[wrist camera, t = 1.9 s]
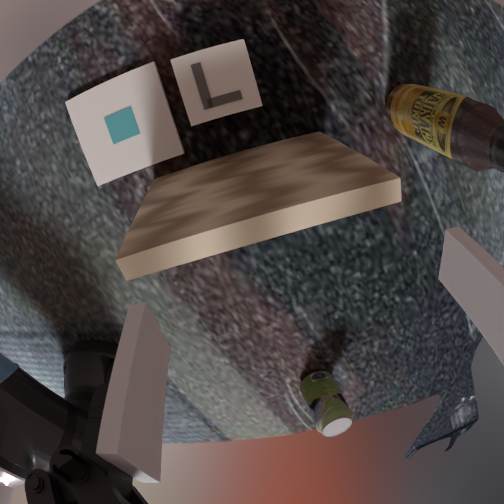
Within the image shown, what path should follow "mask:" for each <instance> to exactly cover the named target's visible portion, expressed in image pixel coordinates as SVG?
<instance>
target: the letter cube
mask: <svg viewBox="0 0 504 504" xmlns="http://www.w3.org/2000/svg"><path fill="white" fill-rule="evenodd" d="M170 61H171V64H172V67H173V70H174V74H175V77H176V80H177V83H178V86H179V89H180V93H181V96H182V99H183V102H184V105H185V108H186V111H187V115H188V118H189V121H190V124H191V126H194V125H197V124H200V123H203V122H207V121H210V120H213V119H217V118H220V117H223V116H227V115H230V114H234V113H238V112H241V111H245V110H249V109H253V108H257V107H261V106H262V102H261V98H260V95H259V91H258V87H257V84H256V80H255V76H254V73H253V69H252V66H251V62H250V59H249V55H248V52H247V48H246V45H245V41H244V39H241V40H237V41H233V42H229V43H225V44H221V45H217V46H213V47H210V48H206V49H203V50H199V51H196V52H193V53H189V54H186V55H183V56H180V57H177V58H174V59H171V60H170Z"/></svg>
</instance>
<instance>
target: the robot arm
mask: <svg viewBox="0 0 504 504" xmlns="http://www.w3.org/2000/svg"><path fill="white" fill-rule="evenodd" d="M438 279H439V280H440V281H441V282H442V284H443V285H444V286H445V287H446V288H447V290H448V291H449V292H450V293H451V295H452V296H453V297H454V298H455V300H456V301H457V302H458V303H459V305H460V306H461V307H462V308H463V310H464V311H465V312H466V314H467V315H468V316H469V318H470V319H471V320H472V322H473V323H474V324H475V326H476V327H477V328H478V330H479V331H480V332H481V334H482V335H483V336H484V338H485V339H486V341H487V342H488V343H489V345H490V346H491V348H492V349H493V350H494V352H495V353H496V355H497V356H498V358H499V359H500V361H501V362H502V364H503V365H504V268H503V267H502V266H501V265H500V264H499V263H498V262H497V261H496V260H495V259H494V258H493V257H492V256H491V255H490V254H488V253H487V252H486V251H485V250H484V249H483V248H482V247H481V246H480V245H479V244H478V243H476V242H475V241H474V240H473V239H472V238H471V237H470V236H469V235H467V234H466V233H465V232H464V231H463V230H462V229H461V228H459V227H458V226H457V227H454V228H450V229H446V230H445V239H444V246H443V253H442V260H441V266H440V272H439V278H438ZM169 352H170V345H169V343H168V341H167V340H166V338H165V336H164V334H163V333H162V331H161V329H160V327H159V326H158V324H157V322H156V320H155V318H154V317H153V315H152V313H151V311H150V309H149V307H148V306H147V304H146V302H144V303H139V304H134V305H130V306H129V309H128V312H127V316H126V319H125V323H124V327H123V330H122V334H121V338H120V341H119V345H115V344H112V343H108V342H103V341H83V342H80V343H77V344H75V345H73V346H72V347H71V348H70V349H69V351H68V352H67V355H66V358H65V361H64V366H63V370H64V375H65V376H64V389H65V398H62V397H60V396H59V395H57V394H56V393H54V392H53V391H51V390H50V389H48V388H47V387H45V386H44V385H43V384H41V383H40V382H38V381H37V380H36V379H34V378H33V377H32V376H30V375H29V374H28V373H26V372H25V371H24V370H22V369H21V368H20V367H19V365H18V364H17V363H13V362H12V361H11V360H9V359H8V358H6V357H5V356H4V355H2V354H1V353H0V504H10V501H11V497H12V494H13V490H14V487H16V486H17V485H20V484H24V483H25V492H26V497H27V502H28V504H148V503H147V502H146V501H145V499H144V498H143V497H142V495H141V494H140V493H139V492H138V490H137V489H136V488H135V487H134V486H133V485H132V480H133V478H134V479H136V480H138V481H139V482H147V483H160V473H161V451H162V434H163V419H164V405H165V393H166V382H167V372H168V362H169Z"/></svg>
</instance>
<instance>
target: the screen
mask: <svg viewBox="0 0 504 504" xmlns="http://www.w3.org/2000/svg"><path fill="white" fill-rule="evenodd" d="M400 201H401V183H400V178H399V177H398V176H396V175H395V174H393V173H392V172H390V171H388V170H387V169H385V168H383V167H382V166H380V165H379V164H377V163H375V162H374V161H372V160H370V159H368V158H367V157H365V156H363V155H362V154H360V153H358V152H356V151H355V150H353V149H351V148H349V147H348V146H346V145H344V144H342V143H340V142H338V141H337V140H335V139H333V138H331V137H329V136H327V135H325V134H323V133H321V132H320V131H319V132H315V133H310V134H306V135H302V136H298V137H293V138H289V139H285V140H281V141H277V142H273V143H270V144H266V145H262V146H258V147H255V148H251V149H247V150H244V151H240V152H237V153H233V154H230V155H227V156H223V157H220V158H217V159H213V160H210V161H207V162H204V163H200V164H197V165H194V166H191V167H188V168H185V169H182V170H179V171H176V172H173V173H170V174H167V175H164V176H162V177H159V178H156V179H154V181H153V183H152V184H151V186H150V188H149V190H148V192H147V194H146V196H145V198H144V200H143V202H142V204H141V206H140V208H139V210H138V212H137V214H136V216H135V218H134V220H133V222H132V224H131V226H130V229H129V231H128V233H127V235H126V237H125V239H124V242H123V244H122V246H121V248H120V250H119V253H118V255H117V257H116V259H115V261H116V262H117V264H118V266H119V268H120V270H121V272H122V273H123V275H124V277H125V279H126V281H127V280H130V279H134V278H137V277H140V276H144V275H147V274H151V273H154V272H157V271H161V270H164V269H167V268H171V267H174V266H178V265H181V264H184V263H188V262H191V261H195V260H198V259H201V258H205V257H208V256H212V255H215V254H219V253H222V252H225V251H229V250H232V249H236V248H239V247H243V246H246V245H250V244H253V243H256V242H260V241H263V240H267V239H270V238H274V237H277V236H281V235H284V234H288V233H291V232H295V231H298V230H302V229H305V228H309V227H312V226H316V225H319V224H323V223H326V222H330V221H333V220H337V219H340V218H344V217H347V216H351V215H354V214H358V213H361V212H365V211H368V210H372V209H376V208H379V207H383V206H386V205H390V204H393V203H397V202H400Z"/></svg>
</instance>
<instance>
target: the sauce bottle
mask: <svg viewBox="0 0 504 504" xmlns="http://www.w3.org/2000/svg"><path fill="white" fill-rule="evenodd" d="M386 112H387V116H388V119H389V122H390V123H391V124H392V125H393V126H394V127H395V128H396V129H397V130H398V131H399V132H400V133H402V134H404V135H406V136H408V137H410V138H412V139H414V140H416V141H418V142H420V143H422V144H424V145H426V146H428V147H430V148H432V149H434V150H436V151H437V152H439V153H441V154H443V155H445V156H447V157H449V158H451V159H453V160H456V161H458V162H460V163H462V164H463V165H465V166H467V167H469V168H471V169H473V170H475V171H482V170H488V169H492V168H495V169H497V170H498V171H501V172H504V120H503V118H502V117H501V116H500V115H499V113H498V112H497V111H496V109H495V108H493V107H492V106H490V105H488V104H484V103H481V102H477V101H475V100H473V99H471V98H469V97H466V96H462V95H459V94H455V93H451V92H447V91H443V90H439V89H435V88H431V87H426V86H421V85H417V84H402V85H399V86H396V87H395V88H394V89H393V90H392V91H391V93H390V94H389V96H388V98H387V102H386Z"/></svg>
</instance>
